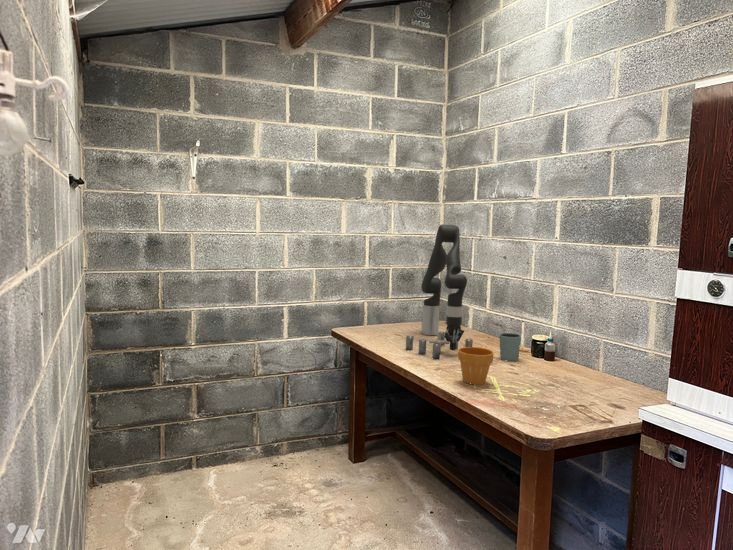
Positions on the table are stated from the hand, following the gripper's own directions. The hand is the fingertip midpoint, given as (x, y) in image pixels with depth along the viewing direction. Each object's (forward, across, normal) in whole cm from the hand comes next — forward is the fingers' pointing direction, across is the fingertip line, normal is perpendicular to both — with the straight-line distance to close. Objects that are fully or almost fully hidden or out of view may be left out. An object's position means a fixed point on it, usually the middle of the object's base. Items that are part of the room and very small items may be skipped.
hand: (452, 349), depth 258 cm
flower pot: (+3, +23, +36) cm, 43 cm away
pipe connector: (+3, 0, -10) cm, 10 cm away
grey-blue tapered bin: (+3, -20, +18) cm, 27 cm away
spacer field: (+3, 0, -10) cm, 10 cm away
